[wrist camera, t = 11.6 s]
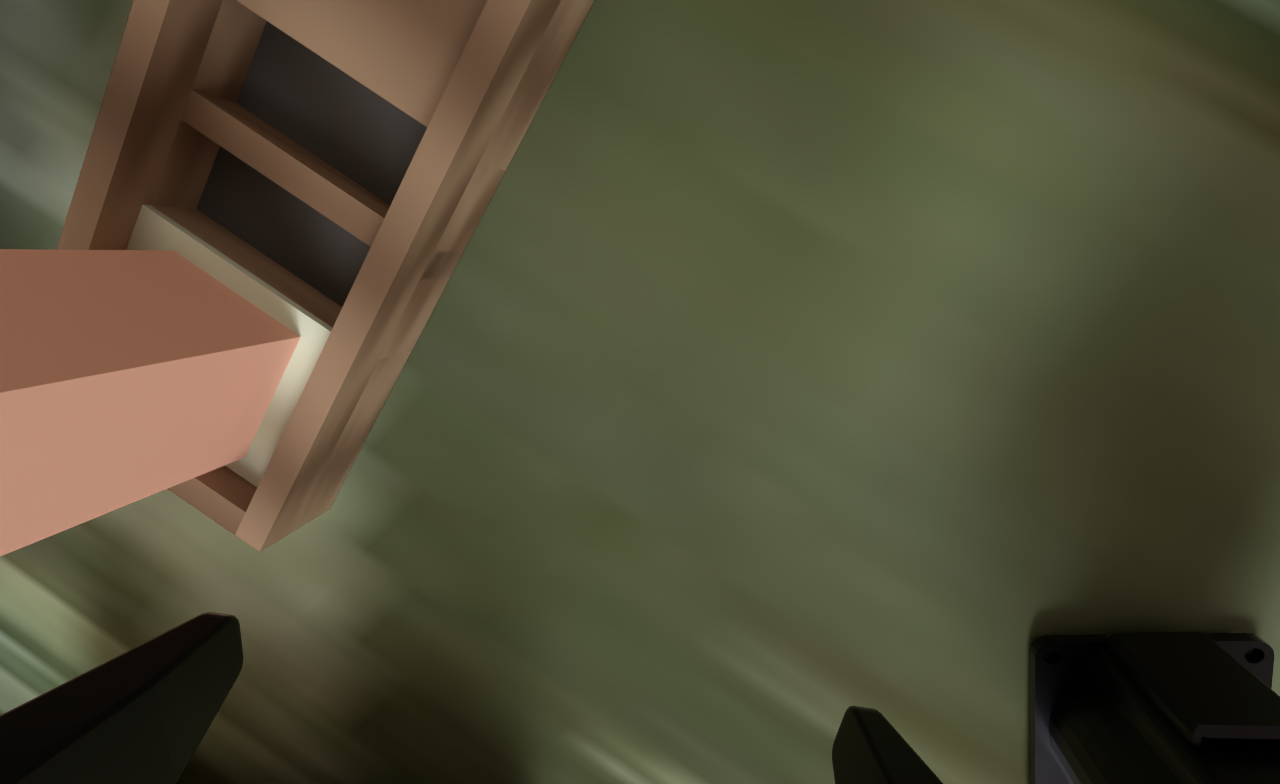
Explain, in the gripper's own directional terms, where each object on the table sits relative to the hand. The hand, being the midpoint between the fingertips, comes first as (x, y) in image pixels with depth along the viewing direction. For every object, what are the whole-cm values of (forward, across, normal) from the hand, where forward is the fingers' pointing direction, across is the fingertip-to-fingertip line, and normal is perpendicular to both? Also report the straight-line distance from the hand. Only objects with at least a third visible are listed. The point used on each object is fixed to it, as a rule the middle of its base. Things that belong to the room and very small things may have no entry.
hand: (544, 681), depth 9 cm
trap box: (+15, +10, -5) cm, 19 cm away
